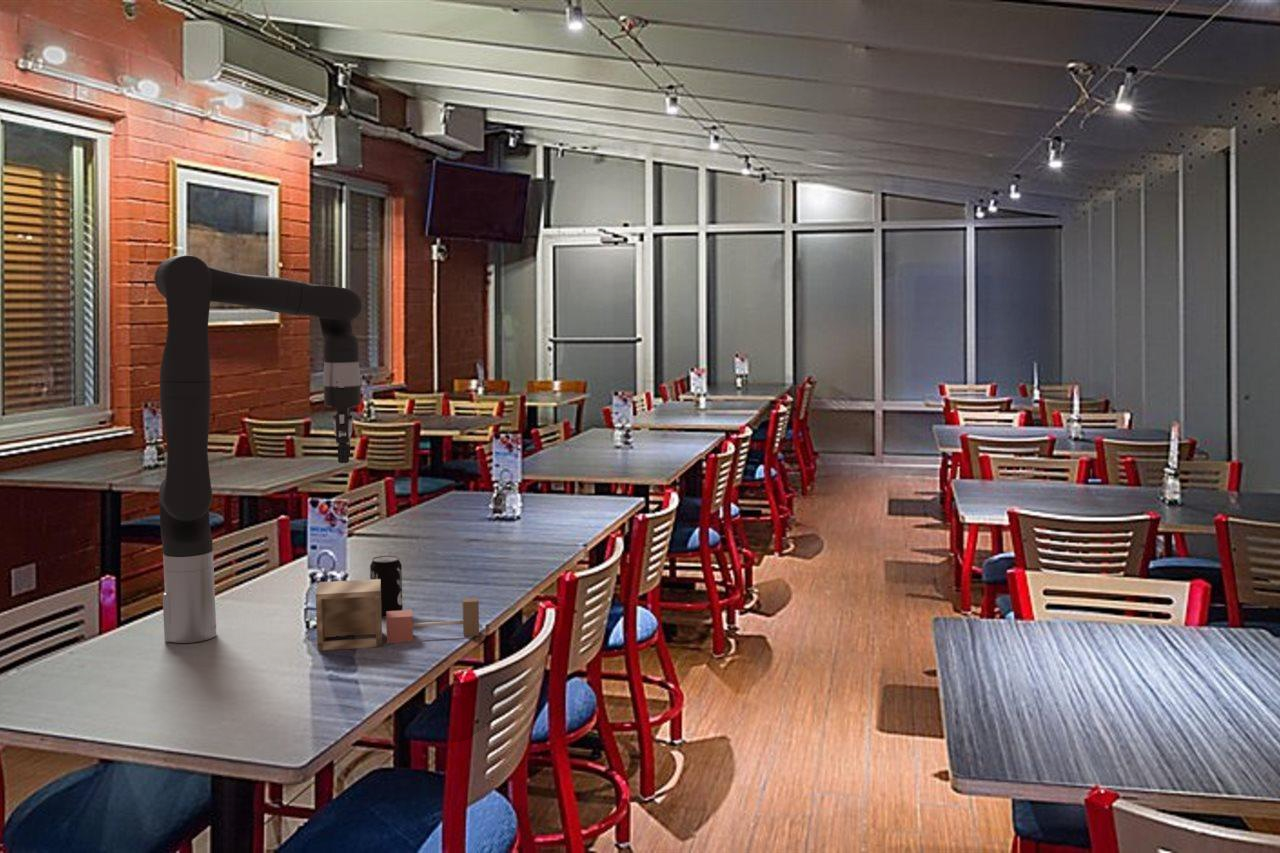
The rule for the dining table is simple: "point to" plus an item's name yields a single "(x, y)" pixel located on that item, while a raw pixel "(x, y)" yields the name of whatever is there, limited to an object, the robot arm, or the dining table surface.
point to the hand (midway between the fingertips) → (344, 460)
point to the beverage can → (388, 581)
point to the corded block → (403, 625)
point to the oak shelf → (348, 613)
